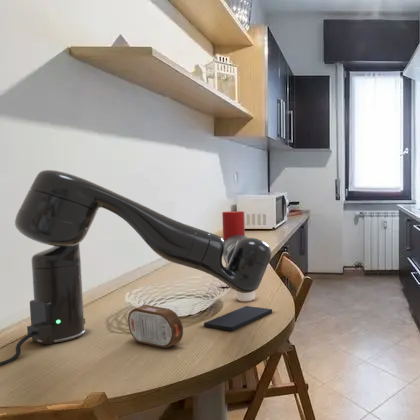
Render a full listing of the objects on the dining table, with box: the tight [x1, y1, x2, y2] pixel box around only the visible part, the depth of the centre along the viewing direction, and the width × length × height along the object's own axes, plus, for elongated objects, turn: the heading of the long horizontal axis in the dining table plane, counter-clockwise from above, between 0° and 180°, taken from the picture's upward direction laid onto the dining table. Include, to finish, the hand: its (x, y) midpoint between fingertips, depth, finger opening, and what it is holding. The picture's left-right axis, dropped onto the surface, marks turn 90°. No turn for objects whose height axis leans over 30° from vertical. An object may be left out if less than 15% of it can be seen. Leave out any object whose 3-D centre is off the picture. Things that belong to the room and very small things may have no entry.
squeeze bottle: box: [221, 210, 246, 267], centre depth 112 cm, size 5×5×15 cm
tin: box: [127, 304, 184, 349], centre depth 96 cm, size 15×3×8 cm, turn 65°
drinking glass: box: [236, 290, 256, 302], centre depth 132 cm, size 7×7×15 cm
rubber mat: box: [203, 305, 273, 332], centre depth 113 cm, size 16×9×1 cm, turn 157°
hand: (233, 243), depth 114 cm, fingers closed on squeeze bottle, 5 cm apart
